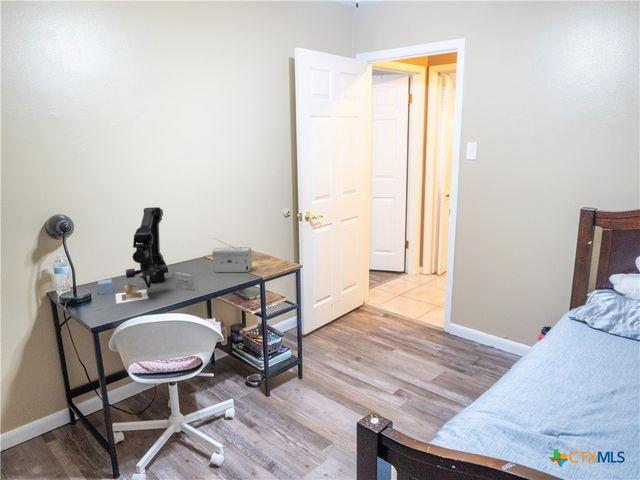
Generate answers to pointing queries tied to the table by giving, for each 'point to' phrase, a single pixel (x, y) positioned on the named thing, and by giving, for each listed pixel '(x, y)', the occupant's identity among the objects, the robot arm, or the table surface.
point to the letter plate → (122, 298)
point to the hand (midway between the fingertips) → (148, 287)
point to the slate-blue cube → (105, 286)
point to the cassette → (183, 284)
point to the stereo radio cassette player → (232, 259)
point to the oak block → (131, 291)
